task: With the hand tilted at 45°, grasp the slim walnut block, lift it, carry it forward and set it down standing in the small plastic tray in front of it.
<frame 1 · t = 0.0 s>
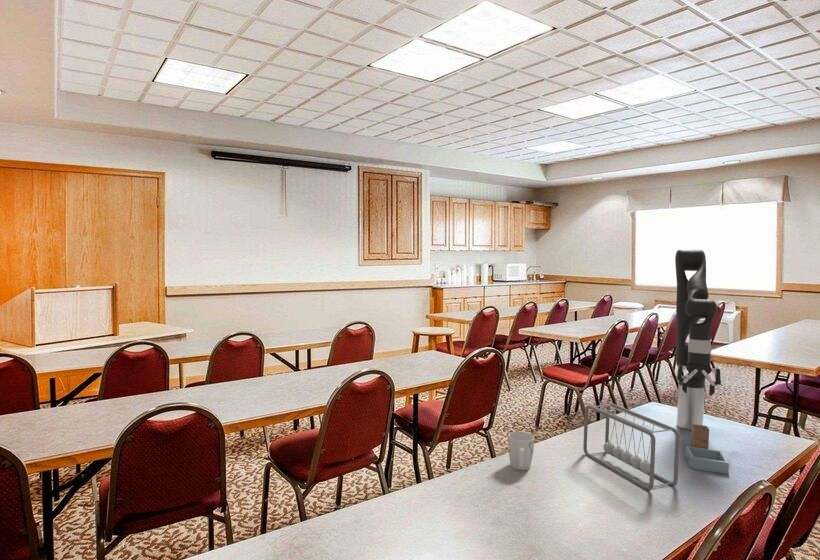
hand: (697, 393, 187), 17 cm above the table, fingers open, 8 cm apart
mug: (520, 468, 158), on the table
block: (699, 451, 175), on the table
newton's cradle: (626, 470, 159), on the table
tray: (706, 464, 164), on the table
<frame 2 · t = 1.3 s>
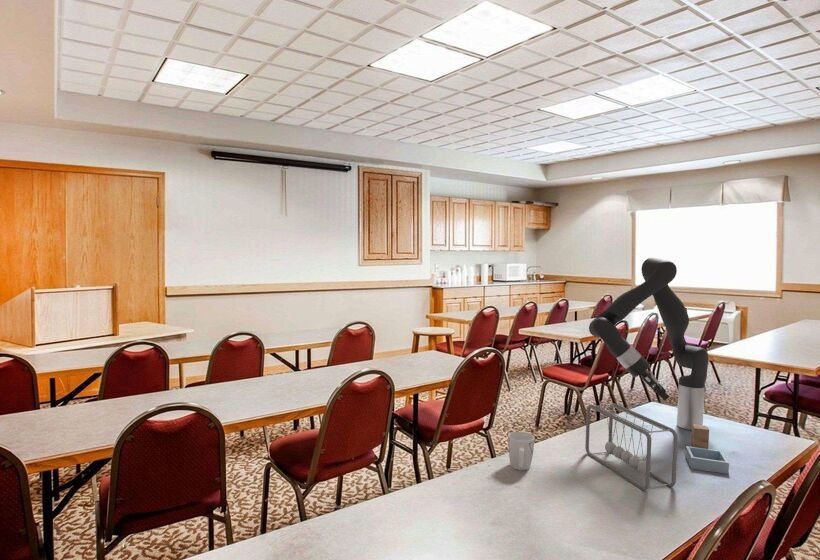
hand: (665, 395, 178), 19 cm above the table, fingers open, 8 cm apart
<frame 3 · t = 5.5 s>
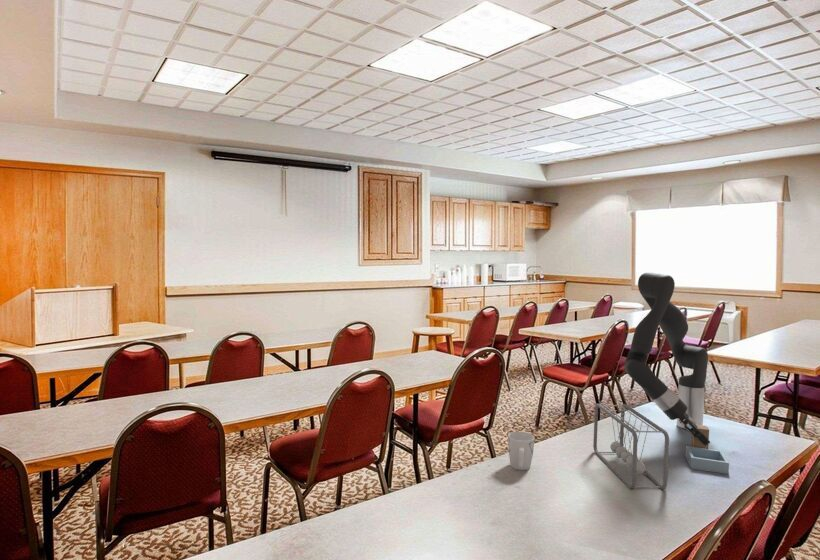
hand: (706, 441, 174), 4 cm above the table, fingers closed on block, 4 cm apart
block: (699, 451, 175), on the table, touching gripper
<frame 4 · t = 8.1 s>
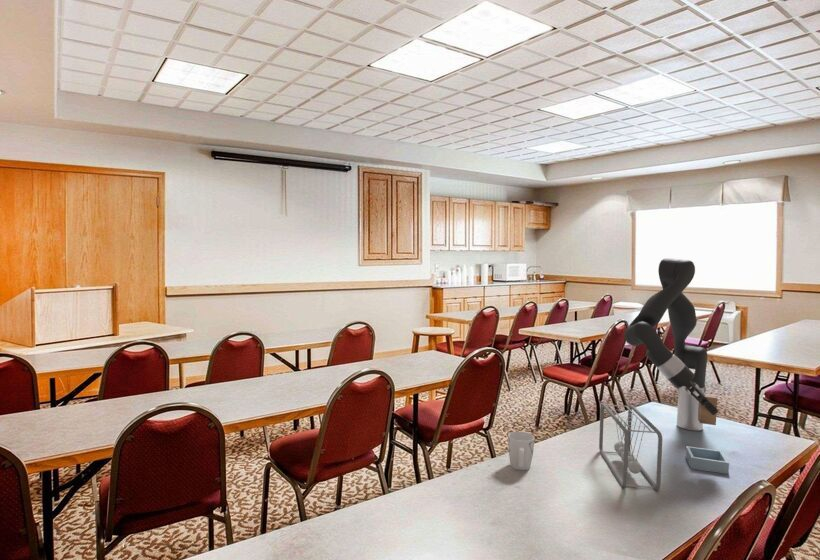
hand: (714, 410, 162), 18 cm above the table, fingers closed on block, 4 cm apart
block: (706, 422, 163), point 14 cm above the table, touching gripper
when the fingers open (6 cm above the table, at t = 10.9 s): block drops 1 cm, resting on tray.
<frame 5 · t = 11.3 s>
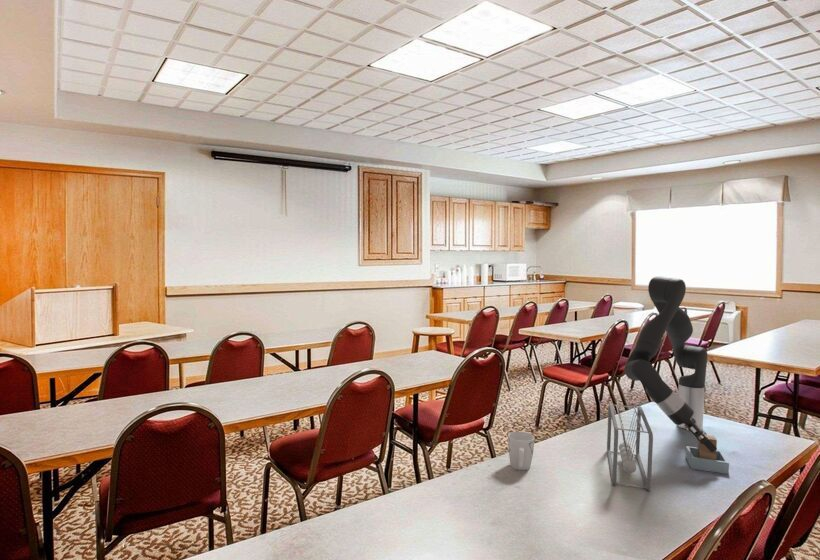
hand: (711, 445, 163), 7 cm above the table, fingers open, 8 cm apart
block: (706, 463, 163), point 1 cm above the table, touching tray
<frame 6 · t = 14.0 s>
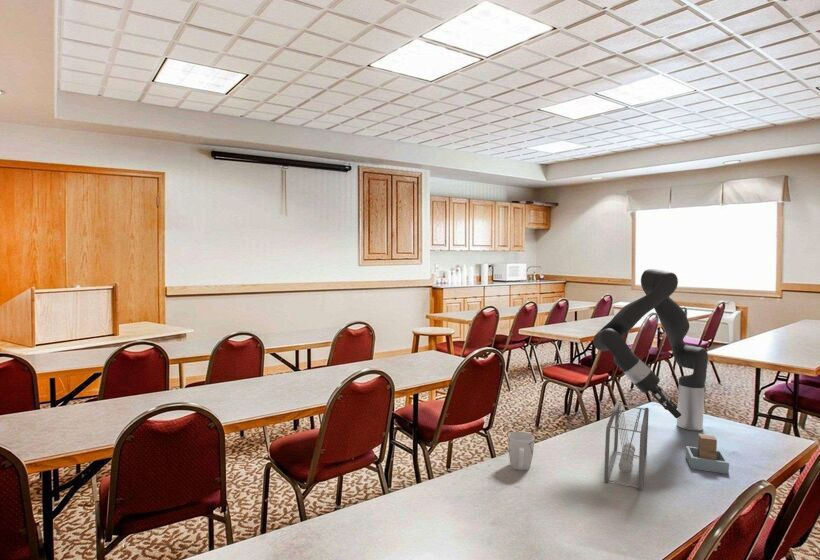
hand: (677, 412, 166), 16 cm above the table, fingers open, 8 cm apart
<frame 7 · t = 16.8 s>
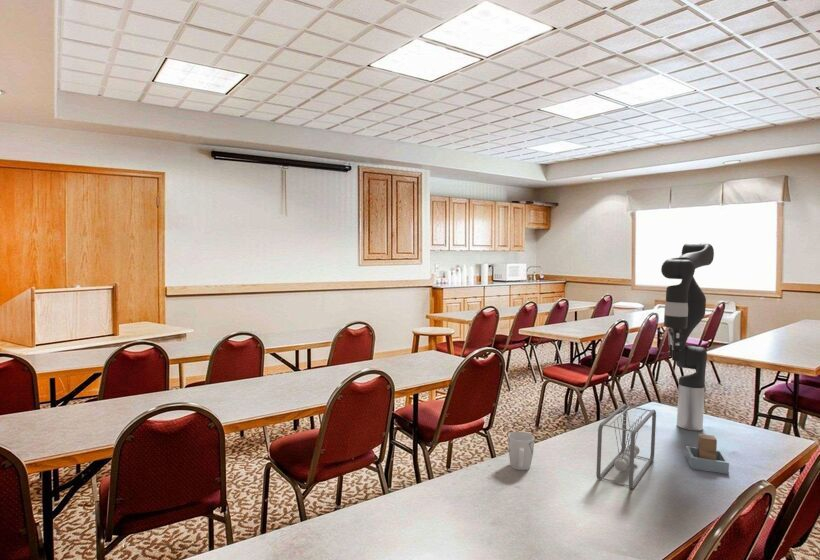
hand: (673, 358, 179), 32 cm above the table, fingers open, 8 cm apart
at the end: block 0.3 cm off-centre on the tray, point 0.6 cm above the tray's base; block tilted 0°; the gripper is holding nothing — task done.
